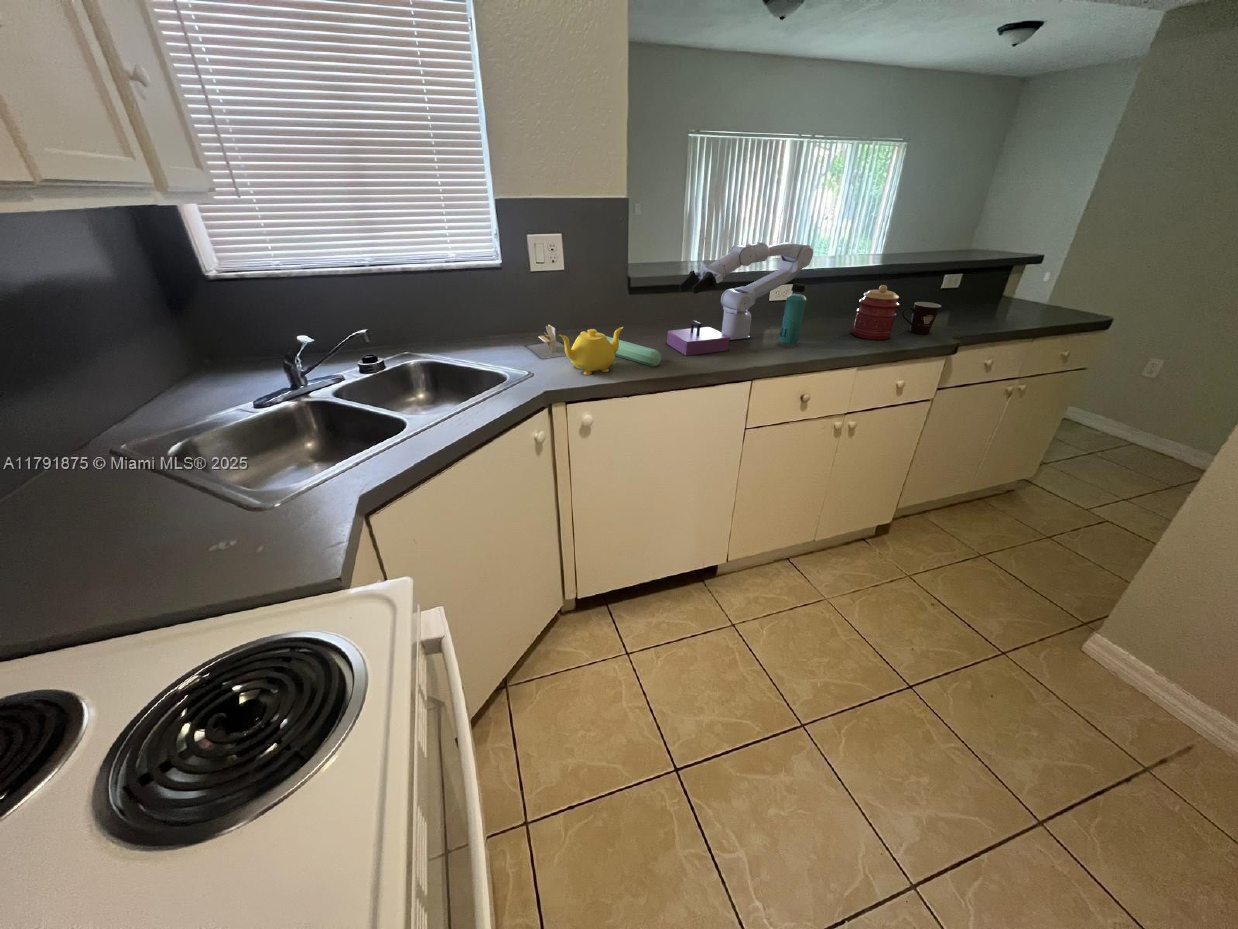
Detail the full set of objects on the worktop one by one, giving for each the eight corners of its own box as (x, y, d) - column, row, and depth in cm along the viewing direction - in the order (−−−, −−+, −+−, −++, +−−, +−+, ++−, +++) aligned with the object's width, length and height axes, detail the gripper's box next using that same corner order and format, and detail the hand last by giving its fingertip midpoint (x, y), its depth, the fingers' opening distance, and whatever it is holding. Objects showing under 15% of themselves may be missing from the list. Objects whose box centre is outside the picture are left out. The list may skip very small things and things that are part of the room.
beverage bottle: (800, 345, 167) (813, 283, 156) (792, 349, 162) (804, 286, 152) (783, 341, 170) (794, 281, 160) (774, 344, 166) (785, 283, 156)
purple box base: (706, 339, 171) (707, 328, 169) (727, 350, 160) (729, 339, 158) (666, 343, 166) (667, 332, 164) (685, 355, 155) (686, 343, 153)
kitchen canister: (896, 336, 177) (912, 286, 168) (876, 342, 170) (891, 290, 161) (864, 328, 186) (877, 280, 177) (843, 333, 180) (856, 283, 171)
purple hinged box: (709, 328, 169) (710, 314, 166) (730, 338, 158) (732, 324, 156) (667, 332, 164) (668, 317, 161) (686, 343, 153) (688, 328, 150)
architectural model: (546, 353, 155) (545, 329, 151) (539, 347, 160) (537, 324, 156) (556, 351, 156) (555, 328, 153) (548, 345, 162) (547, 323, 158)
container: (662, 345, 143) (599, 328, 156) (651, 357, 140) (588, 339, 154) (665, 361, 147) (603, 343, 161) (654, 373, 145) (592, 354, 158)
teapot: (610, 356, 153) (610, 319, 147) (632, 370, 142) (634, 331, 136) (550, 364, 145) (548, 326, 140) (569, 381, 134) (567, 340, 128)
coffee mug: (932, 330, 185) (941, 303, 179) (931, 336, 178) (940, 308, 173) (898, 326, 190) (906, 299, 185) (896, 331, 184) (904, 304, 178)
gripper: (703, 256, 163) (671, 276, 160) (729, 257, 151) (695, 279, 149) (709, 276, 166) (678, 296, 164) (735, 279, 154) (702, 300, 152)
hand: (686, 289), depth 157 cm, fingers open, 7 cm apart
